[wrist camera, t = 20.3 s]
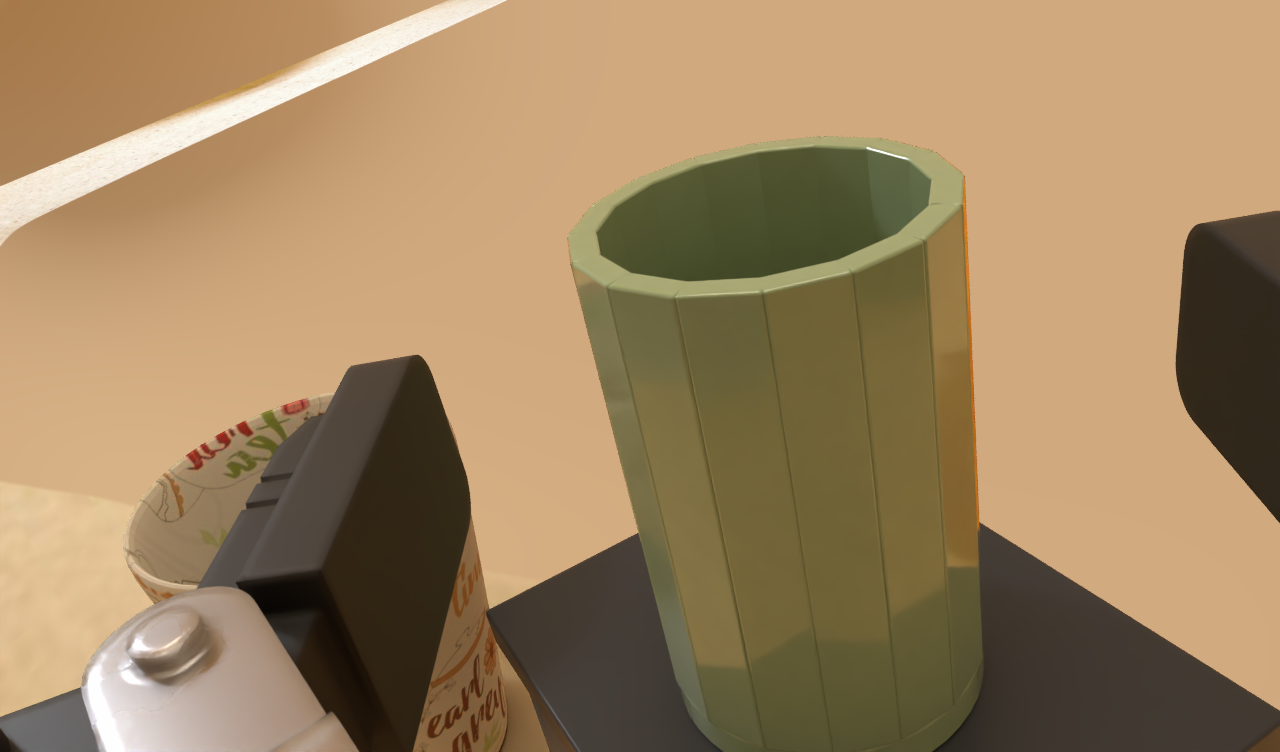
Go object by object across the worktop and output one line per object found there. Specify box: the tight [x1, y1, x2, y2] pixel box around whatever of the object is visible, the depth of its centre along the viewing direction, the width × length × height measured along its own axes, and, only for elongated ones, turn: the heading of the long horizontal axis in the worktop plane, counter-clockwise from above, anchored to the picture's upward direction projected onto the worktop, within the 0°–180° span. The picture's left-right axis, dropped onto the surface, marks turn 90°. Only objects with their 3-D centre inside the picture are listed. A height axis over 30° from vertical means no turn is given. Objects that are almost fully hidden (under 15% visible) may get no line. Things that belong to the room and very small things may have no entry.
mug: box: [123, 392, 507, 752], centre depth 30 cm, size 8×13×10 cm, turn 30°
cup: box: [568, 136, 984, 752], centre depth 19 cm, size 6×6×10 cm
